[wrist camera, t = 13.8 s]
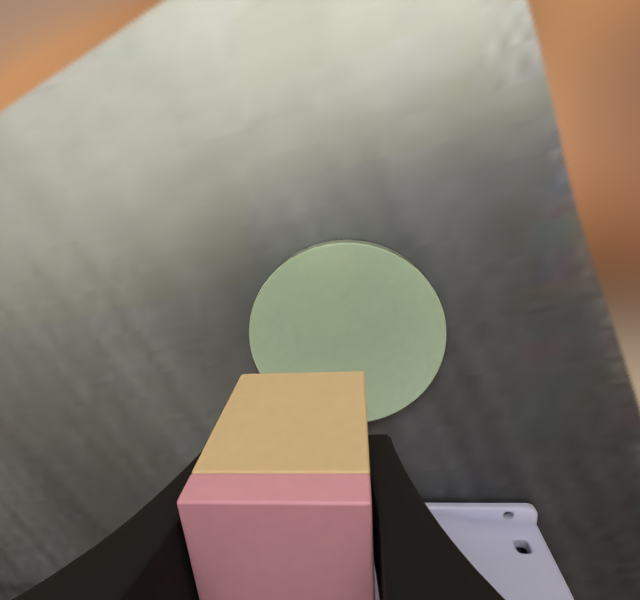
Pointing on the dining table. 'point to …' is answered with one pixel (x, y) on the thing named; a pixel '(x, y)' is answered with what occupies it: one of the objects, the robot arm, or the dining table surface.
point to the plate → (351, 321)
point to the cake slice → (284, 492)
